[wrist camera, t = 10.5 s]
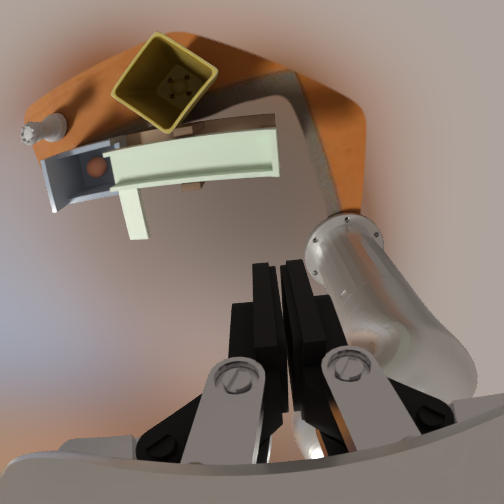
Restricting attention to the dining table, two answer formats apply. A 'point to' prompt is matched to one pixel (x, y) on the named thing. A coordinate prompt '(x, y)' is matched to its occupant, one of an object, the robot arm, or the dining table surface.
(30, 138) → the rook chess piece
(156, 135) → the catapult base
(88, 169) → the ball
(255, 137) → the lever
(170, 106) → the flower pot
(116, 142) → the blue-grey box
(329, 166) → the dining table surface
